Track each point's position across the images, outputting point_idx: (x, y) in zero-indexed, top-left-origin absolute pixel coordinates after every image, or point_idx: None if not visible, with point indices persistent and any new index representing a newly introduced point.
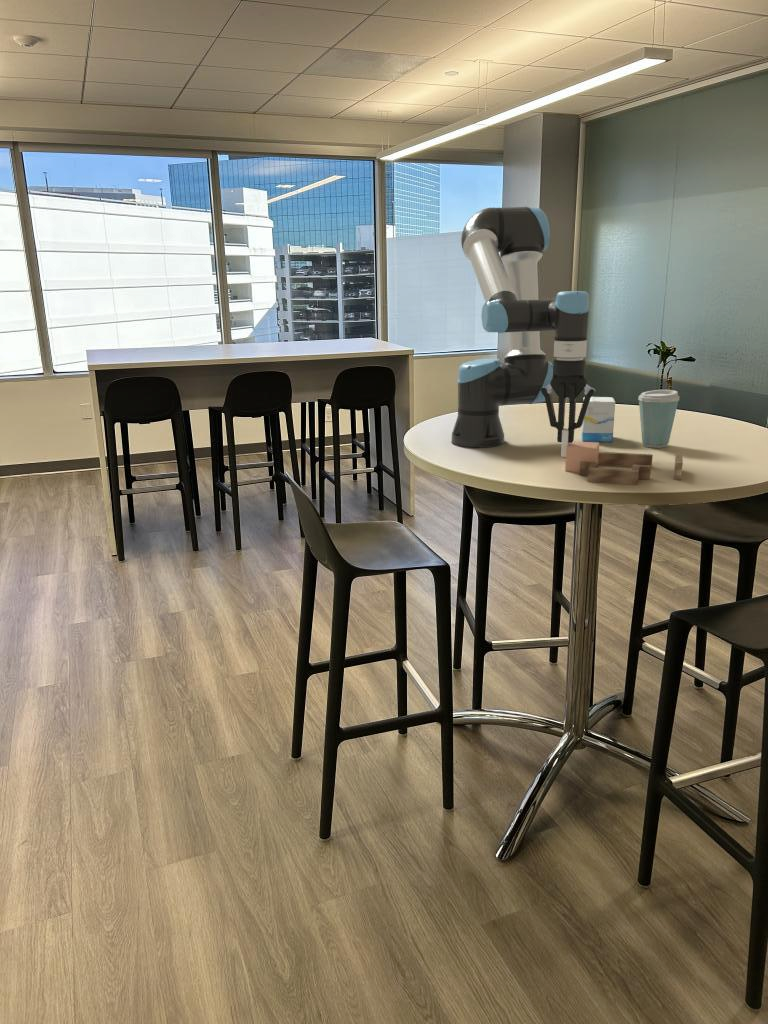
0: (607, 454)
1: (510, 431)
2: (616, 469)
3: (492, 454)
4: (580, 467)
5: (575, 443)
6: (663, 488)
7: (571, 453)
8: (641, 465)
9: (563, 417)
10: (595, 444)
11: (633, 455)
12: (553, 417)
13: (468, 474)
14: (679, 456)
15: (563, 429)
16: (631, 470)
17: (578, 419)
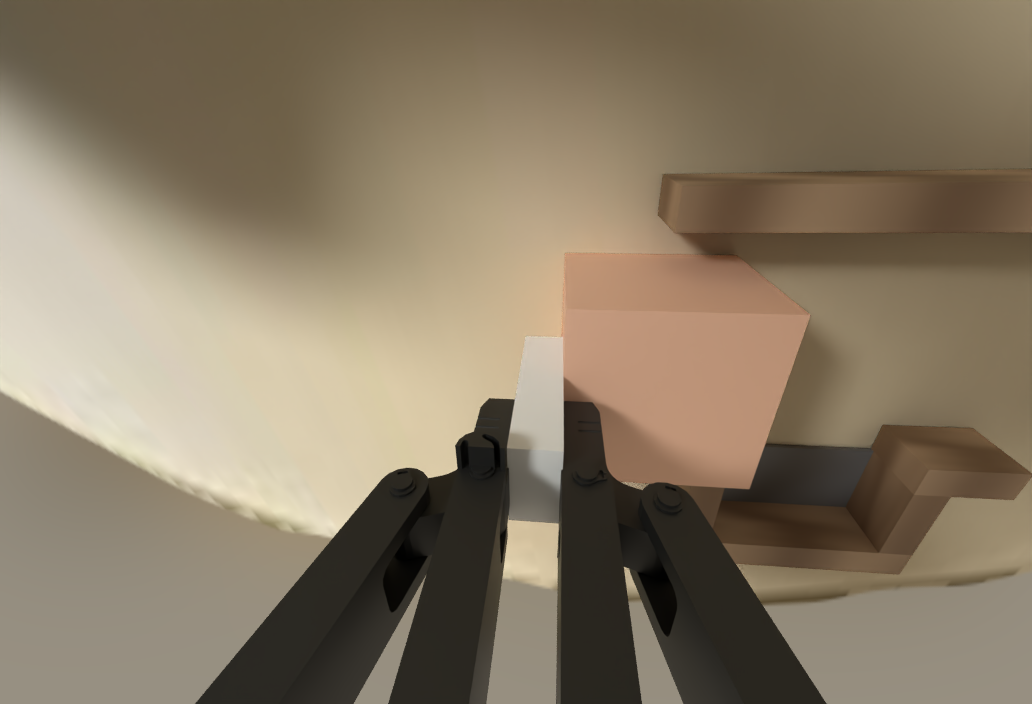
0: (841, 229)
1: None
2: (804, 552)
3: (51, 114)
4: None
5: (611, 380)
6: (959, 544)
7: None
8: (971, 479)
9: (495, 608)
10: (764, 381)
11: None
12: (397, 617)
13: (223, 497)
14: None
15: (513, 490)
16: (874, 558)
17: (660, 630)
